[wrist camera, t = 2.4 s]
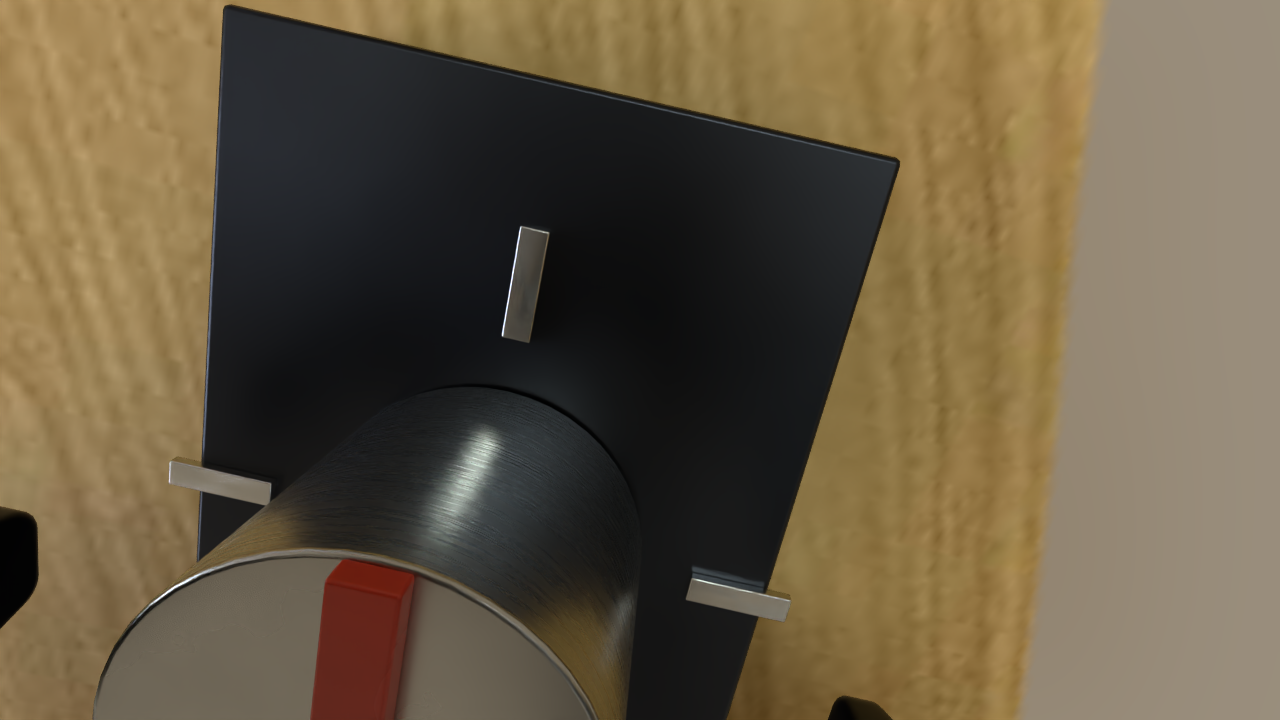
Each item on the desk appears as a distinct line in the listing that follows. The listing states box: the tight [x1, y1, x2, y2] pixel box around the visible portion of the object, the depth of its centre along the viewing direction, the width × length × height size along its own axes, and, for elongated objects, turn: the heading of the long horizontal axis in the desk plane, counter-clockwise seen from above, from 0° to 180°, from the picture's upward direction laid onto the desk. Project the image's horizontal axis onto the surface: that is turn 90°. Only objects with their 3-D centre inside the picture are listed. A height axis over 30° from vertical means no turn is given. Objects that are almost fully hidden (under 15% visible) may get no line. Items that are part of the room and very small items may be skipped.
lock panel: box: [169, 4, 900, 720], centre depth 11 cm, size 12×9×3 cm
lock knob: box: [93, 387, 642, 720], centre depth 8 cm, size 4×4×4 cm
